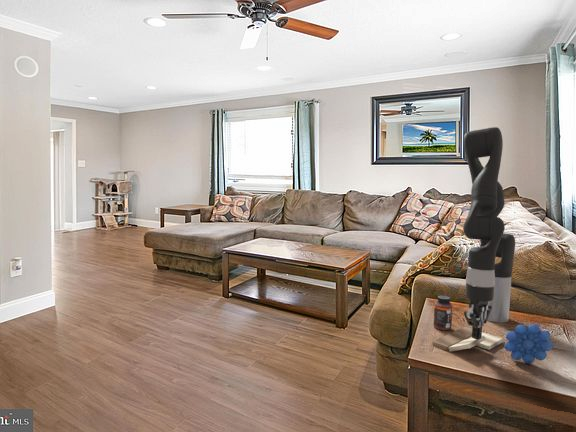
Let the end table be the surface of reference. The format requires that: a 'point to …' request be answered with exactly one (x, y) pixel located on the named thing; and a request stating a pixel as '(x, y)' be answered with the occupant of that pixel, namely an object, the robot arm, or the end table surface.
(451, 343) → the laid plank
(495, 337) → the plank
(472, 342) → the plank
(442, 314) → the supplement bottle
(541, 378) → the end table surface
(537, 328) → the grapes
